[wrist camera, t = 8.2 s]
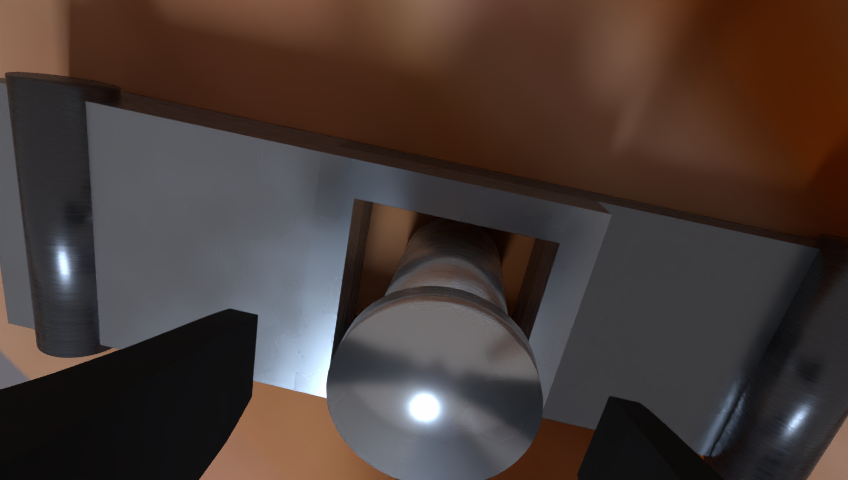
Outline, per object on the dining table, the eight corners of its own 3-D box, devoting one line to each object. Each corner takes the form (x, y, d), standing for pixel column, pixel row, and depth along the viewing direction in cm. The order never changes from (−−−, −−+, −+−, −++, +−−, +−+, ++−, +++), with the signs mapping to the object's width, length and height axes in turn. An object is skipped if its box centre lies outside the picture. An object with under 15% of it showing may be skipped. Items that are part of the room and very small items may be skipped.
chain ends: (774, 453, 16) (852, 545, 12) (83, 293, 17) (-11, 341, 13) (897, 247, 13) (1036, 297, 10) (67, 70, 14) (-55, 63, 11)
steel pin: (491, 329, 15) (503, 510, 9) (381, 298, 15) (310, 454, 9) (528, 223, 14) (576, 342, 7) (407, 190, 14) (347, 278, 7)
